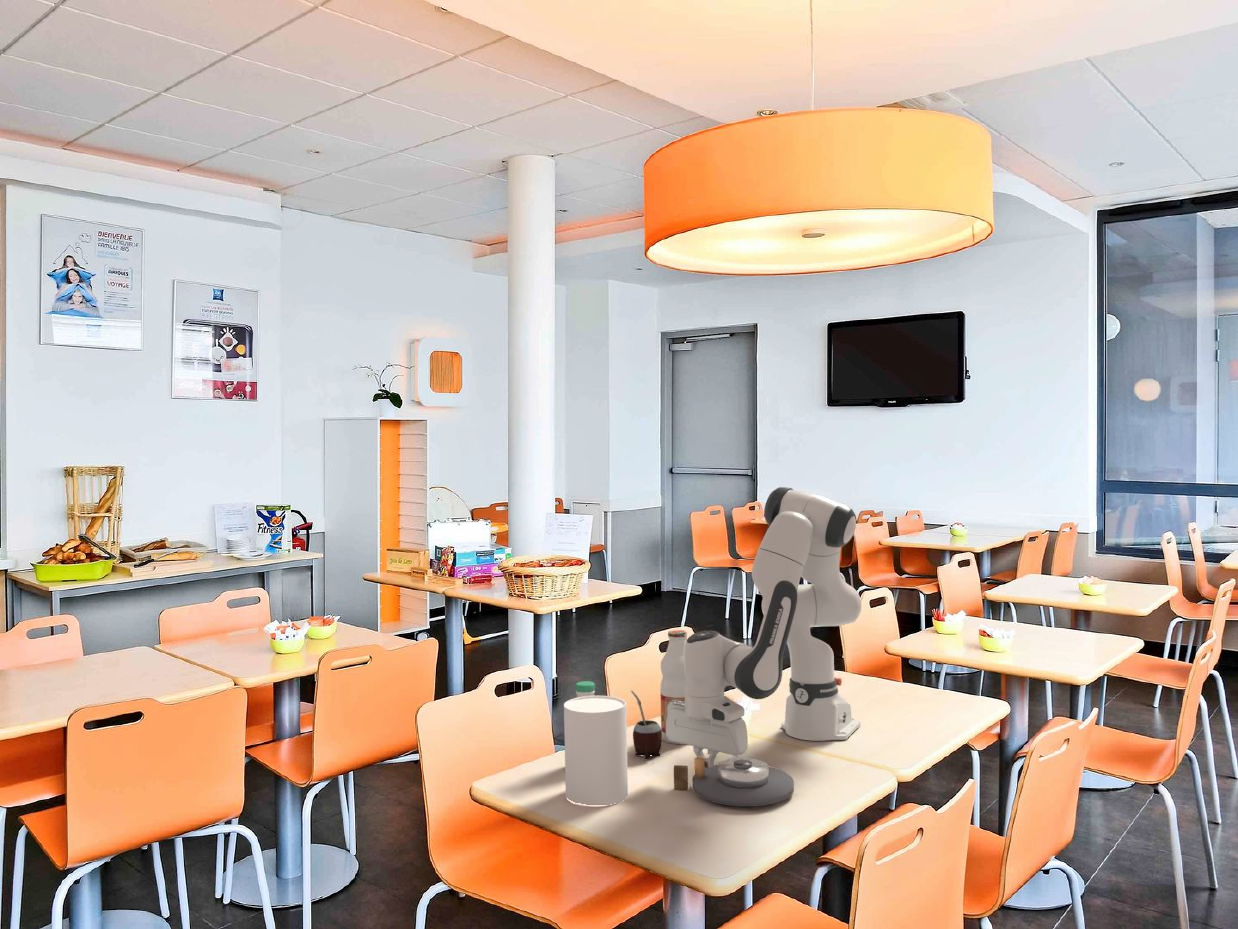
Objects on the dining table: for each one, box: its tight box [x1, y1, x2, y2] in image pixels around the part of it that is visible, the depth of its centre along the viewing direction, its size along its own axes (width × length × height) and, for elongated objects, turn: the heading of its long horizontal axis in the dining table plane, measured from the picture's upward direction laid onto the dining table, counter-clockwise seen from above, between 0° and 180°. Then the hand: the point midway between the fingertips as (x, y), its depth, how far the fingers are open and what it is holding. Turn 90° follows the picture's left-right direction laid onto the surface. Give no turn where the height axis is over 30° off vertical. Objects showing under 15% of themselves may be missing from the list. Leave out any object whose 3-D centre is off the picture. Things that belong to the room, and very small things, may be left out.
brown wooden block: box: [673, 764, 689, 792], centre depth 204 cm, size 3×2×5 cm, turn 81°
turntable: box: [691, 757, 795, 807], centre depth 202 cm, size 22×22×6 cm
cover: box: [717, 757, 769, 789], centre depth 202 cm, size 11×11×4 cm
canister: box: [563, 695, 629, 806], centre depth 202 cm, size 14×14×20 cm
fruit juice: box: [659, 629, 688, 745], centre depth 239 cm, size 9×9×28 cm
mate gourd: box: [630, 690, 663, 761], centre depth 227 cm, size 8×8×15 cm
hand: (706, 767), depth 206 cm, fingers closed
